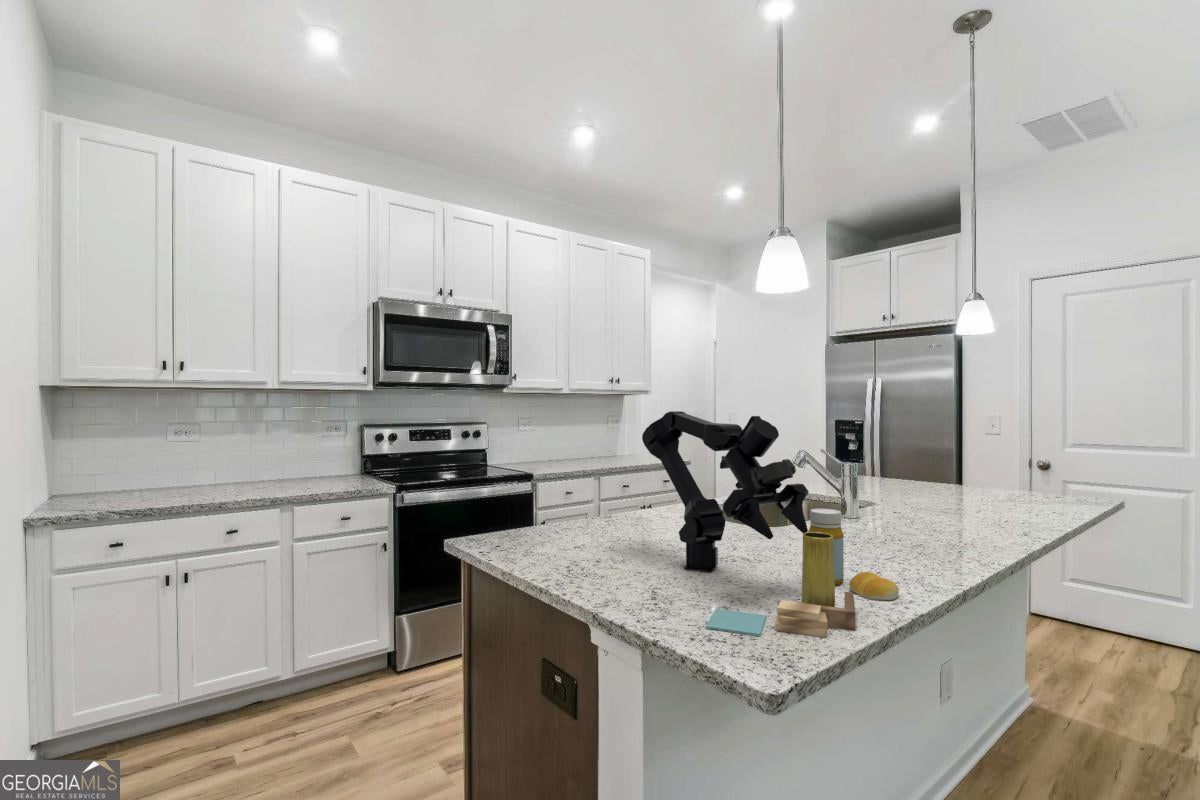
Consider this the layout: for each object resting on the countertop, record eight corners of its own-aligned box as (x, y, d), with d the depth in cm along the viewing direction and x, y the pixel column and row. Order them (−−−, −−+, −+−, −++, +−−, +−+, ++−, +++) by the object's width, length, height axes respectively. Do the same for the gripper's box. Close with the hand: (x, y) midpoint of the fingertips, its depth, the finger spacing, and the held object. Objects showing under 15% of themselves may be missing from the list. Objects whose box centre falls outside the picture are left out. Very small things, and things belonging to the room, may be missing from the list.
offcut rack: (775, 630, 97) (774, 609, 97) (783, 600, 112) (782, 581, 112) (856, 642, 92) (856, 619, 92) (853, 608, 108) (853, 589, 108)
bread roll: (877, 604, 110) (876, 583, 110) (842, 590, 119) (842, 570, 119) (909, 599, 113) (909, 578, 113) (873, 585, 122) (873, 566, 122)
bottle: (846, 587, 120) (846, 514, 120) (811, 585, 121) (810, 513, 122) (839, 577, 127) (839, 508, 127) (806, 575, 128) (806, 507, 128)
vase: (799, 617, 103) (799, 537, 103) (801, 605, 109) (801, 530, 109) (836, 621, 101) (836, 540, 101) (836, 610, 107) (835, 532, 107)
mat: (705, 628, 98) (705, 626, 98) (715, 610, 107) (715, 608, 107) (760, 636, 95) (760, 634, 95) (766, 617, 103) (766, 615, 103)
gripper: (732, 448, 111) (775, 515, 102) (801, 444, 120) (847, 505, 111) (706, 484, 118) (744, 550, 108) (773, 478, 127) (814, 538, 118)
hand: (789, 535), depth 111 cm, fingers open, 9 cm apart
